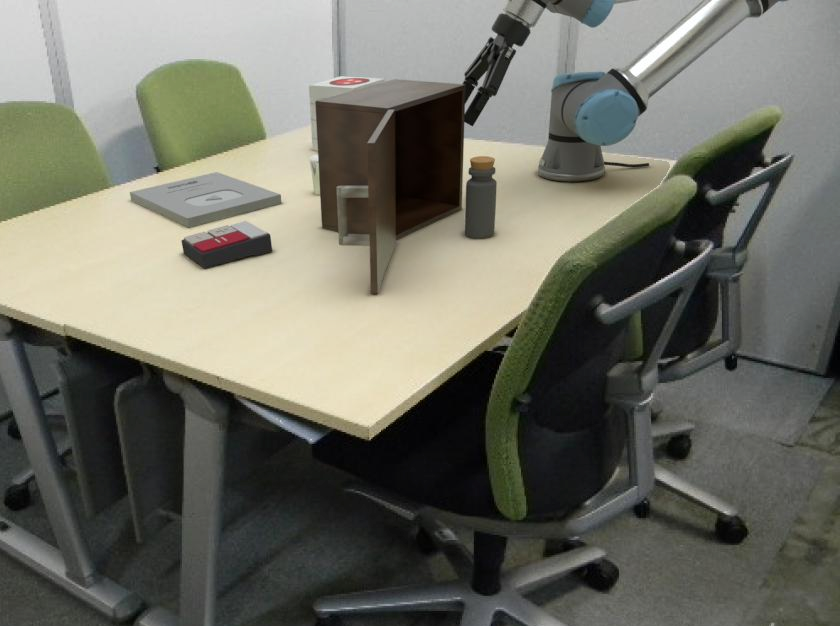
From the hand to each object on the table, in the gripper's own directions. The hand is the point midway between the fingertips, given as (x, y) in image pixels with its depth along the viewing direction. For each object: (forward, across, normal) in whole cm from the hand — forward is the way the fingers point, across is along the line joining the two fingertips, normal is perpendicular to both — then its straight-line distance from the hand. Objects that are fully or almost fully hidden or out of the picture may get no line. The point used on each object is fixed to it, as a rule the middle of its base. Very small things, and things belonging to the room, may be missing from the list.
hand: (460, 117), depth 184 cm
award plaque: (+46, -14, -40) cm, 63 cm away
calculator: (+42, +24, -35) cm, 60 cm away
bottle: (+16, +25, +9) cm, 31 cm away
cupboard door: (+28, +38, -12) cm, 49 cm away
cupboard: (+24, +10, -5) cm, 26 cm away
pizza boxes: (+24, -51, -4) cm, 57 cm away
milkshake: (+31, -14, -16) cm, 38 cm away
